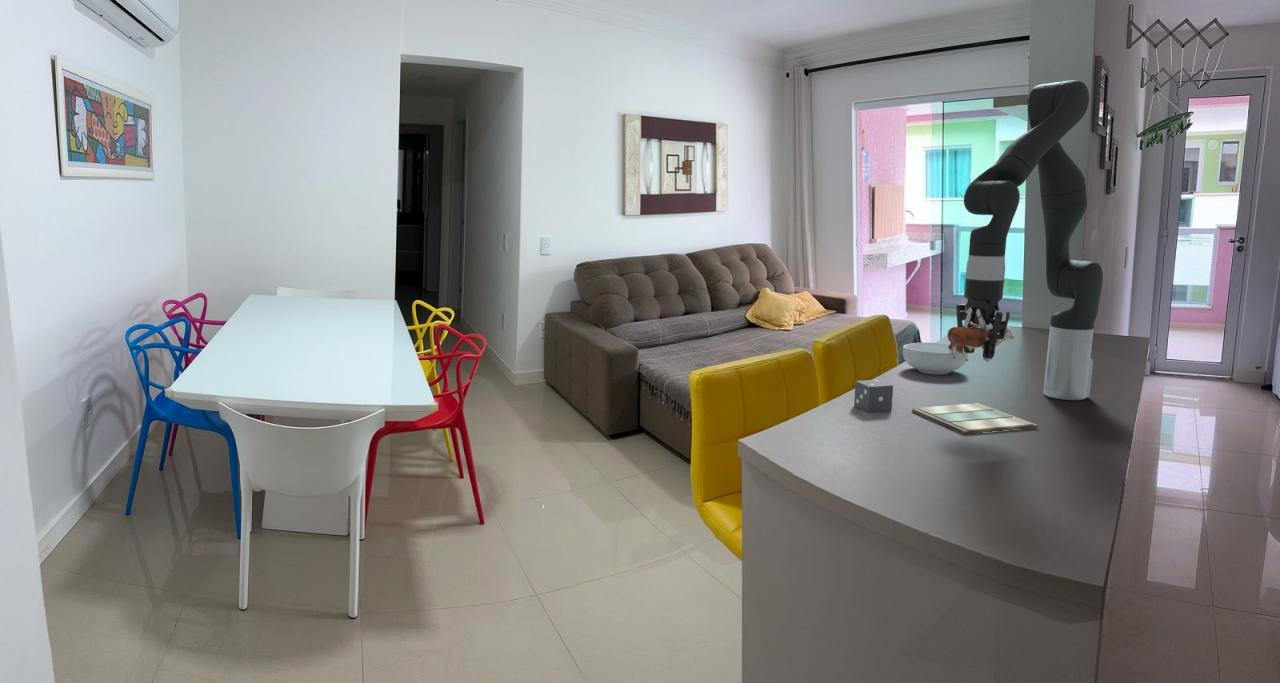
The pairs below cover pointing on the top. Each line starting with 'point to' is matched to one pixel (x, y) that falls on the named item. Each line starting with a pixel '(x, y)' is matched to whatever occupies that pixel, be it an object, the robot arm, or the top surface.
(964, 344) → the bull figurine
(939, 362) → the cereal bowl
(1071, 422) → the top surface
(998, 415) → the paneled room divider
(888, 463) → the top surface
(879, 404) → the die
